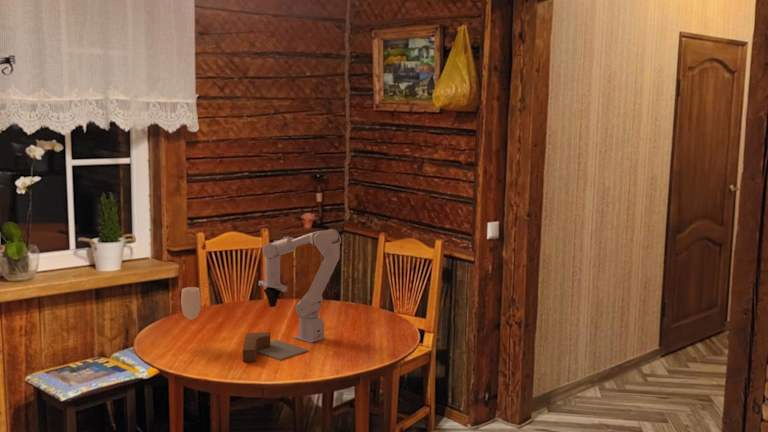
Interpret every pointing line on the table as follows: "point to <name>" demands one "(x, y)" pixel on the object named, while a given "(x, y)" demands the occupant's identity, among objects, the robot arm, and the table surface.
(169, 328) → the table surface
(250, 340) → the wooden block
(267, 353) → the mat
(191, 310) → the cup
